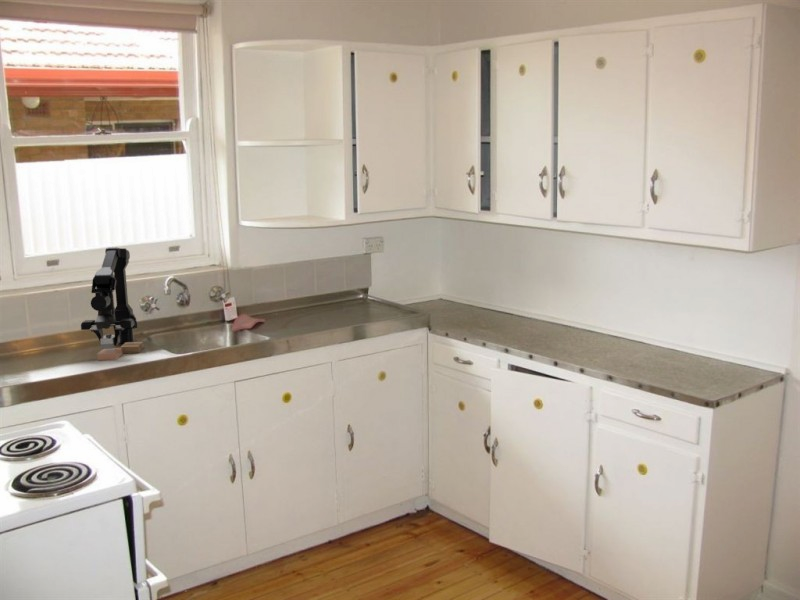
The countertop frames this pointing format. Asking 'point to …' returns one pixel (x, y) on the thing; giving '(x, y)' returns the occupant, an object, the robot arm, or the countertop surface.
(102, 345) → the housing
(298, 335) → the countertop surface
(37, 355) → the countertop surface
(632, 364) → the countertop surface
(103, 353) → the stand
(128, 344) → the stand
